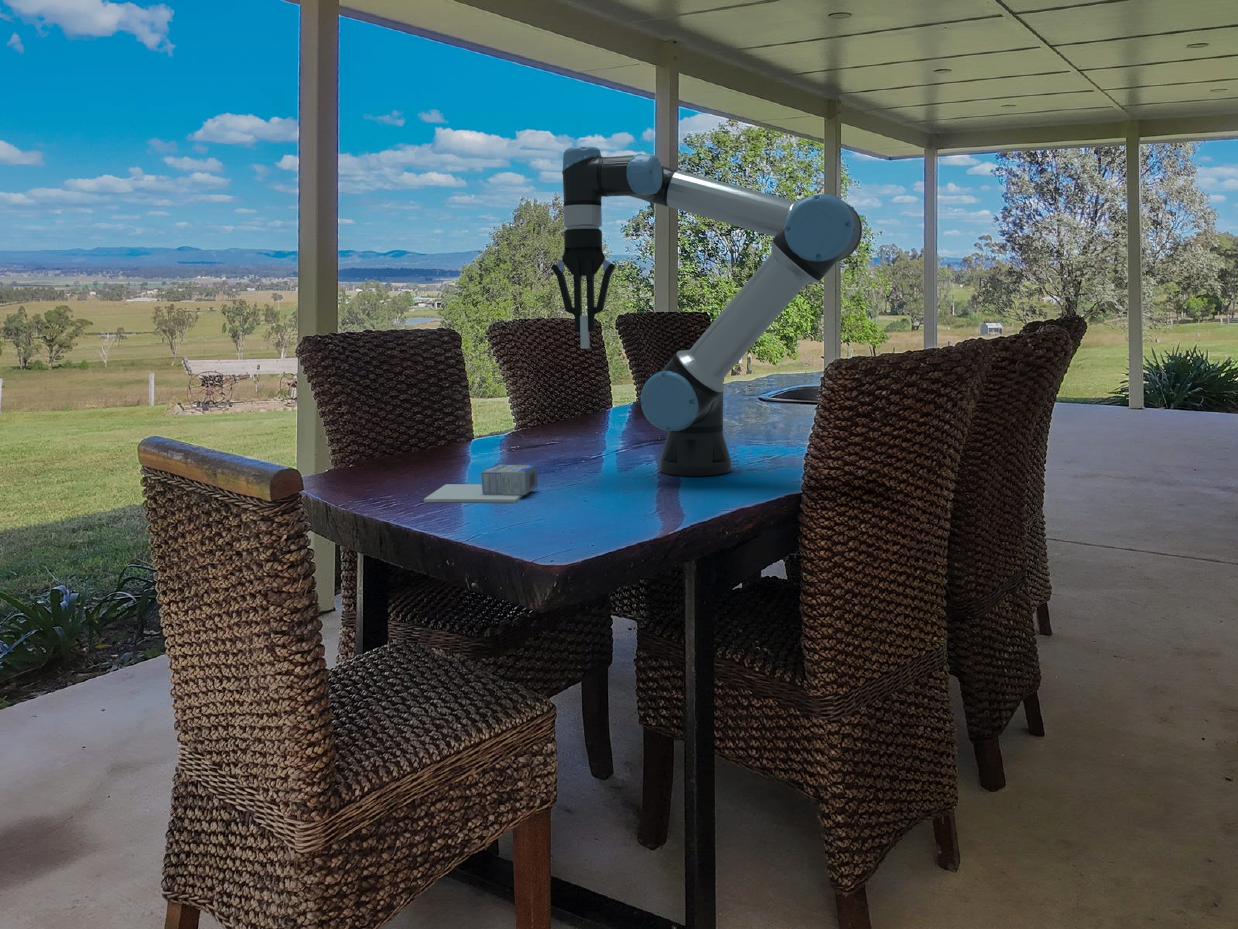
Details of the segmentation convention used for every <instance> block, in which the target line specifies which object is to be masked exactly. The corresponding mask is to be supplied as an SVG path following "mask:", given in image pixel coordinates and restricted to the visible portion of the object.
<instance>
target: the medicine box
mask: <svg viewBox="0 0 1238 929" xmlns="http://www.w3.org/2000/svg"><path fill="white" fill-rule="evenodd" d="M481 484H482V492H483V494H494V495H523V496H525V495H527V494H529V493H530V492H532V491H533V490H535V489H537V488H538V467H537V465H532V464H531V465H529V464H527V465H525V464H524V465H523V464H494V465H492V466H490V467H488V468H486V469H484V470H482V471H481Z"/></svg>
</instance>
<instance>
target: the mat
mask: <svg viewBox="0 0 1238 929" xmlns="http://www.w3.org/2000/svg"><path fill="white" fill-rule="evenodd" d="M522 497H524V495H494V494H483V492H482V483H481V484H480V483H479V484H478V483H477V484H470V483H469V484H461V483H459V484H457V483H456V484H455V483H452V484H450V483H449V484H448V483H446V484H444V485H442V486H441V487H440V488H437V489H436V490H435V491H434V492H432V493H430V494H429V495H427V496H426V497H425V498H423V503H473V504H474V503H479V504H481V503H487V504H489V503H493V504H494V503H497V504H498V503H499V504H500V503H505V504H507V503H508V504H509V503H513V504H516V503H518V502H519V500H521V498H522Z"/></svg>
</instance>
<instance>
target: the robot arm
mask: <svg viewBox="0 0 1238 929" xmlns="http://www.w3.org/2000/svg"><path fill="white" fill-rule="evenodd" d="M601 153H602V152H601V150H600V149H599V148H598V147H596V146H589V145H588V146H572V147H568V148H567V149H565V150H564V151H563V155H562V156H563V157H562V171H561V174H562V186H563V188H562V189H563V190H562V191H563V226H564V227H565V228H566V229H564V231H563V238H564V241H563V242H564V251H563V255H562V258H561V260H560V261H558V262H557V263H556V264H552V266H551V270H552V271H553V273H554V274H555V276H556V278H557V279H556V280H557V282H558V286H559V290H560V294H561V298H562V302H563V305H564V309H565V312H567V313H569V314H572V315H573V316H574V330H575V332H578V333H579V332H580V334H579V335H580V338H579V339H580V349H581V350H582V349H584V350H585V349H590V346H591V345H590V343H591V341H590V340H591V339H590V332H595V325H596V324H595V321H596V320H595V316H596V315H597V314H598V313H602V312H603V311H604V308H605V304H606V303H605V302H606V299H607V295H608V291H609V285H610V281H611V276H612V275H613V273H615V272H614V271H615V269H616V266H617V265H616V264H614V263H612V262H610V261H609V260H607V259H606V258H605V257H606V256H605V254H604V252H603V231H602V229H600V228H601V227H602V226H603V217H602V216H603V215H602V213H603V212H602V197H603V198H606V197H607V198H609V197H630V198H631V197H632V198H635V199H639V200H643V201H645V202H647V203H651V204H657V205H659V206H664V207H669V208H672V209H675V210H679V211H681V212H682V211H683V212H685V213H689V214H693V215H697V216H699V217H702V218H703V217H704V218H707V219H711V220H715V221H717V222H721V223H724V224H727V225H732V226H735V227H739V228H742V229H745V230H749V231H753V232H756V233H759V234H763V235H766V236H770V237H773V239H771V243H770V244H771V253H770V254H769V256H768V257H767V258H766V259H765V261H763V263H762V264H761V265H760V266H759V268H757V270H756V271H755V272H754V274H753V275H752V276H751V277H750V278H749V280H748V281H747V282H746V283H745V284H744V285H743V286H742V288H741V289H740V290H739V291H738V292H737V293H736V294H735V296H734V297H733V298H732V299H731V301H730V302H729V303H728V304H727V305H726V307H724V309H723V310H722V311H721V312H720V313H719V315H717V317H716V318H715V320H713V321H712V322H711V324H710V325H709V327H707V329H706V330H705V331H704V332H703V333H702V335H701V336H700V337H699V338H698V339H697V341H696V342H695V343H694V344H693V345H692V347H691V348H689V349H684V350H678V351H677V352H676V353H675V354H674V355H673V356H672V358H671V359H670V360H669V361H668V363H667V364H666V365H665V366H664V367H663V369H662V370H661V371H659V372H657V373H654V374H652V375H651V376H650V377H649V378H648V379H647V380H646V382H645V384H644V385H643V387H642V388H641V391H640V392H641V393H640V406H641V410H642V413H643V415H644V417H645V419H646V420H647V421H648V422H649V423H650V424H651V425H653V426H654V427H655V428H657V429H659V430H662V431H666V432H667V437H666V440H665V444H664V447H663V449H662V452H661V455H660V459H659V471H660V473H662V474H667V475H675V476H687V477H689V476H690V477H703V476H705V477H708V476H716V475H724V474H728V473H730V472H731V471H732V458H731V456H730V452H729V448H728V446H727V443H726V439H725V436H724V381H725V377H726V376H727V375H728V373H729V372H731V370H732V369H733V368H734V367H735V366H736V365H737V364H738V362H739V361H740V360H741V359H742V358H743V357H744V355H745V354H746V353H747V352H748V351H749V350H750V349H751V347H753V345H754V344H756V342H757V341H758V340H759V338H760V337H761V336H762V335H763V334H764V332H766V330H767V329H768V328H769V327H770V326H771V325H772V324H773V322H775V320H776V319H777V318H778V317H779V316H780V315H781V313H782V312H783V311H784V310H785V309H786V308H787V306H788V305H789V304H790V303H791V302H792V301H793V300H794V299H795V298H796V296H797V295H798V294H800V292H801V290H802V289H803V288H804V287H805V286H806V285H807V284H815V283H819V282H821V280H822V279H823V278H824V276H826V274H827V273H829V271H830V270H831V269H832V268H833V267H834V266H835V264H836V263H837V262H838V263H839V262H840V261H843V260H845V259H846V258H849V257H850V256H851V255H852V254H853V253H854V252H855V250H856V249H857V248H858V247H859V245H860V242H861V240H862V237H863V236H862V235H863V224H862V219H861V218H860V215H859V214H858V212H857V211H856V209H854V208H853V206H852V205H850V204H848V203H846V201H845V200H843V199H841V198H840V197H839V196H836V195H834V194H833V195H832V194H828V193H821V194H820V193H819V194H818V193H817V194H814V195H810V196H808V197H807V196H806V197H802V198H800V199H798V200H791V199H787V198H784V197H781V196H778V195H773V194H768V193H765V192H762V191H758V190H754V189H750V188H747V187H743V186H740V185H739V186H738V185H735V184H732V183H728V182H723V181H720V180H716V179H712V178H709V177H705V176H701V175H698V174H696V173H695V174H693V173H690V172H687V171H683V170H679V169H675V168H672V167H668V166H666V165H665V166H664V165H662V164H661V161H660V160H659V158H658V156H657V155H655V154H653V153H652V154H649V153H648V154H643V153H636V154H630V155H617V156H602V154H601ZM602 265H603V268H602V271H603V275H602V280H601V283H600V284H601V285H600V289H599V294H598V298H597V303H596V306H595V276H596V274H597V272H598V271H599V270H600V268H601V267H602ZM565 267H566V268H567V270H569V272H570V273H571V275H572V276H573V280H572V281H573V300H574V301H573V303H572V300H571V296H570V291H569V288H568V284H567V280H566V277H565V274H564V272H565ZM583 276H585V279H586V280H585V281H586V309H587V310H586V315H583V307H582V306H583V299H582V298H583V296H582V292H583V291H582V281H583V278H582V277H583Z"/></svg>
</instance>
